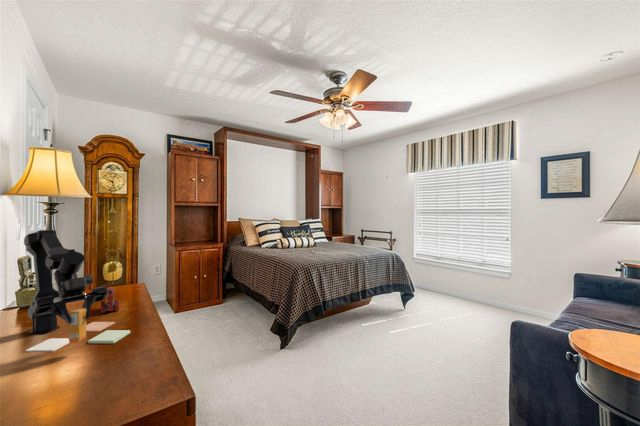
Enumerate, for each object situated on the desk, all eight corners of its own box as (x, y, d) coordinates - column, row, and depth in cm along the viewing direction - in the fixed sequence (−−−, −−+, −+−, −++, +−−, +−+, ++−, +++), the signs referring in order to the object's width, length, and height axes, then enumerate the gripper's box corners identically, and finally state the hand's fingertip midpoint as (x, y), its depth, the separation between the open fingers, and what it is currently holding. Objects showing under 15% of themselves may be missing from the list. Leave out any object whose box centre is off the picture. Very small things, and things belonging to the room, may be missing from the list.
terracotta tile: (75, 333, 110) (75, 330, 110) (93, 324, 119) (93, 321, 119) (99, 333, 111) (99, 330, 111) (114, 324, 120) (114, 321, 120)
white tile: (25, 353, 94) (25, 350, 94) (50, 341, 103) (50, 338, 103) (53, 353, 95) (53, 350, 95) (75, 341, 104) (75, 338, 104)
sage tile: (88, 343, 101) (88, 340, 101) (106, 332, 110) (107, 330, 110) (113, 343, 101) (113, 340, 101) (130, 332, 110) (130, 330, 110)
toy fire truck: (100, 315, 128) (100, 292, 128) (100, 308, 138) (100, 287, 138) (119, 312, 132) (119, 290, 132) (118, 305, 142) (118, 285, 142)
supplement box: (75, 338, 95) (76, 308, 95) (86, 338, 95) (87, 308, 95) (67, 342, 91) (68, 311, 92) (78, 342, 92) (80, 311, 92)
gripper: (36, 272, 88) (46, 315, 82) (106, 264, 103) (120, 299, 97) (28, 293, 92) (38, 336, 86) (97, 282, 108) (109, 317, 102)
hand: (79, 321), depth 93 cm, fingers closed on supplement box, 4 cm apart
